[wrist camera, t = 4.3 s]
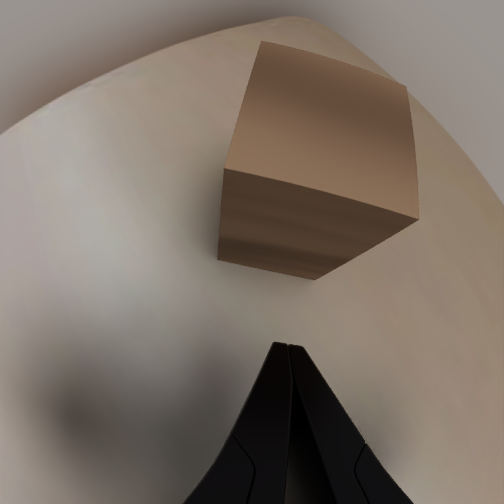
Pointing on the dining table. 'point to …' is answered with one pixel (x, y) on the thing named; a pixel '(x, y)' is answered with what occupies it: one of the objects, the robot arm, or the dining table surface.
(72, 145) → the dining table surface
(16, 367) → the dining table surface
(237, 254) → the walnut block
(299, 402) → the robot arm
